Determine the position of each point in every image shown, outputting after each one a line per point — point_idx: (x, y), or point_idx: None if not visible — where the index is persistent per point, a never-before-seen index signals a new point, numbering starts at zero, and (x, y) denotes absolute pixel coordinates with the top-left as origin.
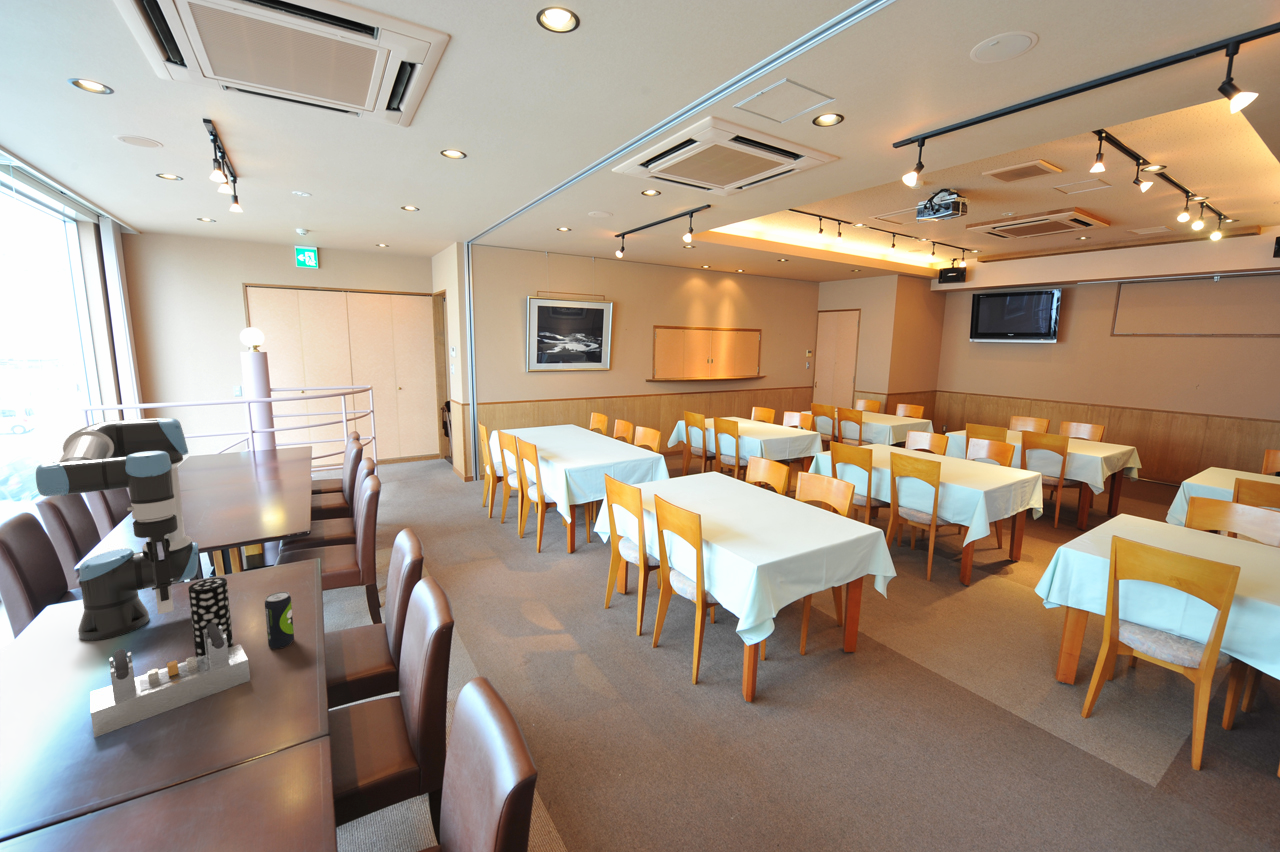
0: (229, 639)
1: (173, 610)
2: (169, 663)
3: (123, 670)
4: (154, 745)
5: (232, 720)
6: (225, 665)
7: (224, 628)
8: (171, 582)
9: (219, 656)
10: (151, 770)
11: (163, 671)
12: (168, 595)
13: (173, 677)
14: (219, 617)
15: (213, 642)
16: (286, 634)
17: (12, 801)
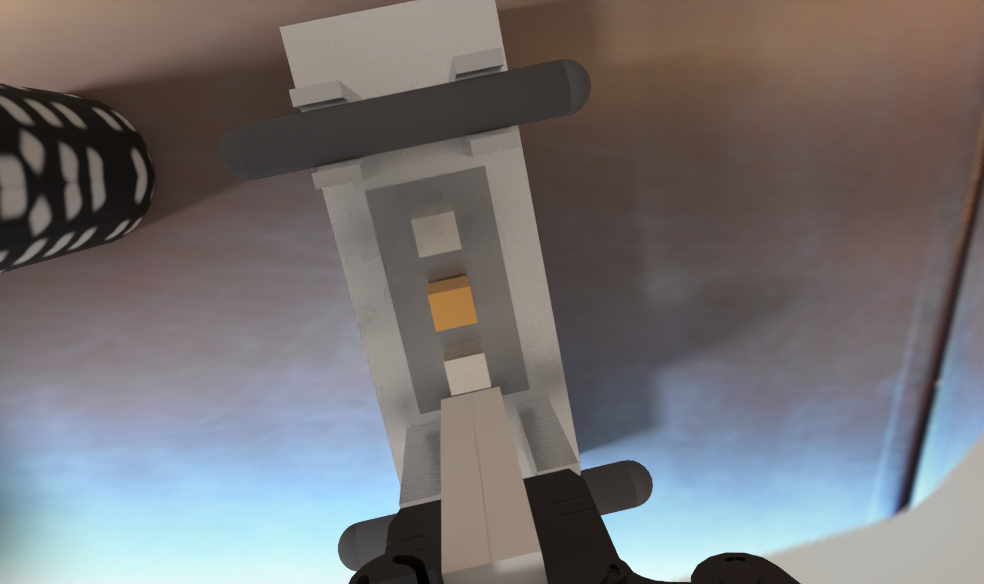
0: (75, 100)
1: (499, 389)
2: (448, 319)
3: (638, 489)
4: (730, 290)
5: (746, 70)
6: None
7: (49, 111)
8: (755, 579)
9: None
10: (859, 277)
11: (390, 337)
12: (589, 499)
13: (483, 290)
14: (9, 125)
15: (539, 117)
16: None
17: (758, 554)
